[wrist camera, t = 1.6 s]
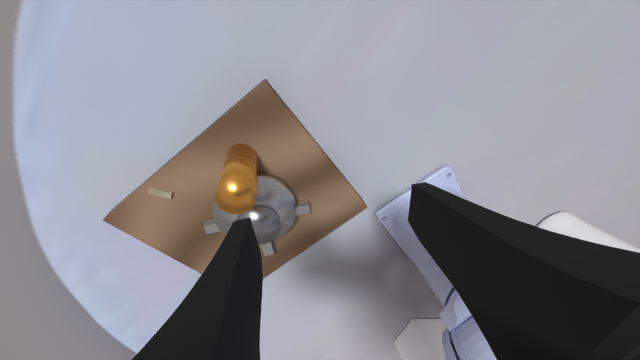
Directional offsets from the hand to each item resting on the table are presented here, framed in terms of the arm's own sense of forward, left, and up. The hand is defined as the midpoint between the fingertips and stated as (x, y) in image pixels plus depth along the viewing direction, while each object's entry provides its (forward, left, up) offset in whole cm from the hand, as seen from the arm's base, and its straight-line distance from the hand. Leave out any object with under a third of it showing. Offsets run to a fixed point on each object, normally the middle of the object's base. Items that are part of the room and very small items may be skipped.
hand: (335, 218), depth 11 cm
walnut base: (-2, +7, -9) cm, 12 cm away
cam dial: (-2, +6, -8) cm, 11 cm away
